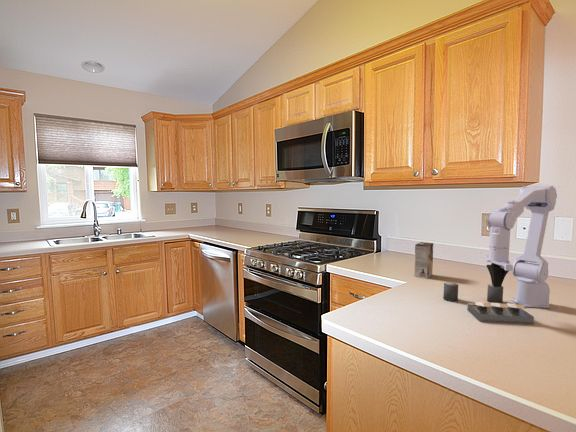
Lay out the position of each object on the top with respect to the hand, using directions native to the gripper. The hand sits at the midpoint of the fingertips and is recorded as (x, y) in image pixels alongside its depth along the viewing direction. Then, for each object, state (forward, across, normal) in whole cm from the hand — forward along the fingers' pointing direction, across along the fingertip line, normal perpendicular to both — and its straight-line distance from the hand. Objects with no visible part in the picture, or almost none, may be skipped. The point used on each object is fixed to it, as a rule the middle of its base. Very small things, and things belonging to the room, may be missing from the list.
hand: (496, 286), depth 111 cm
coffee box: (+10, -49, -11) cm, 52 cm away
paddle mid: (+6, +2, 0) cm, 6 cm away
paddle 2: (+6, +2, +5) cm, 8 cm away
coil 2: (+10, -14, +6) cm, 19 cm away
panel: (+10, +2, 0) cm, 10 cm away
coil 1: (+10, -14, -10) cm, 20 cm away
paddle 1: (+6, +2, -5) cm, 8 cm away
